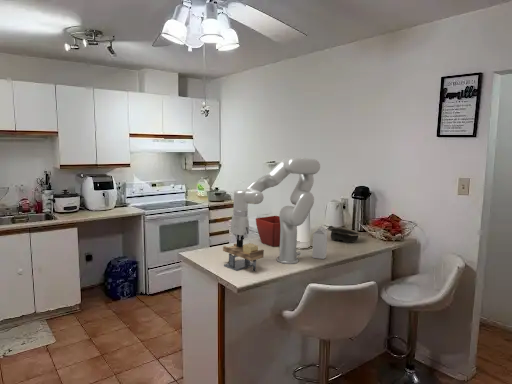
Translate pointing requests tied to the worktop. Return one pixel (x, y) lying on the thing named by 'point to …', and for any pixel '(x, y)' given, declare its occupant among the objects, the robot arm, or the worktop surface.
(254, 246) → the block
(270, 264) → the worktop surface
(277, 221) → the plant pot
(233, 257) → the pivot stand
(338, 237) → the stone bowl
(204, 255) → the worktop surface
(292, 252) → the robot arm
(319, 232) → the milk carton
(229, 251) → the board
